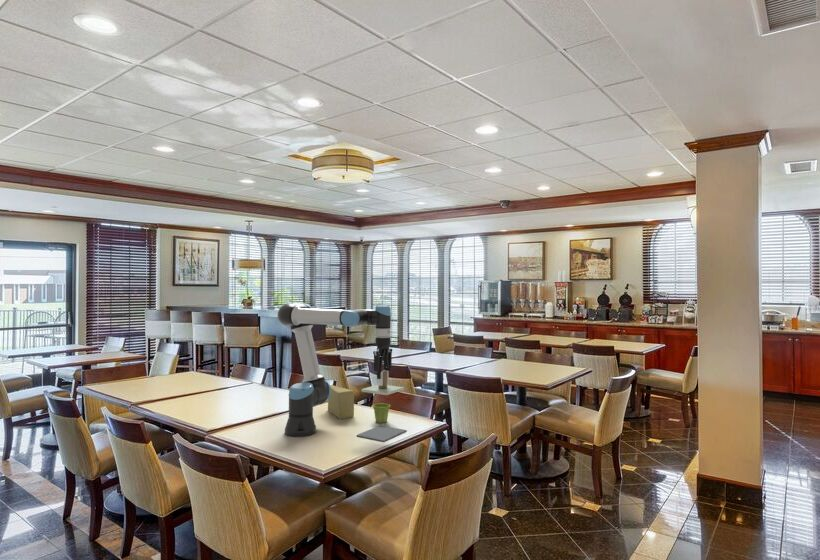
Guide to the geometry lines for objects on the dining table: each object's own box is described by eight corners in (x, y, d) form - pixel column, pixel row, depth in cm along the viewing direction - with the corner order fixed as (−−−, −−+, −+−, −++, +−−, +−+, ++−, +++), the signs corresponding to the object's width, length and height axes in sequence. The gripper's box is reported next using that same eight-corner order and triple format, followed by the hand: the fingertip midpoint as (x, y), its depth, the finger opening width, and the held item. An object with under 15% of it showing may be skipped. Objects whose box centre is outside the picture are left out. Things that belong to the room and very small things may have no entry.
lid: (386, 395, 222) (386, 375, 222) (361, 391, 230) (361, 372, 230) (403, 389, 235) (403, 371, 235) (379, 386, 243) (379, 368, 243)
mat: (383, 441, 219) (383, 440, 219) (356, 436, 228) (356, 435, 228) (406, 431, 236) (406, 430, 236) (380, 426, 245) (380, 425, 245)
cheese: (321, 411, 275) (321, 385, 276) (336, 408, 281) (336, 383, 281) (338, 419, 257) (339, 392, 258) (354, 417, 263) (354, 389, 263)
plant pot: (372, 419, 258) (372, 403, 259) (389, 419, 259) (390, 403, 259) (372, 424, 249) (372, 407, 249) (390, 423, 250) (390, 407, 250)
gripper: (379, 338, 224) (378, 388, 223) (399, 336, 239) (398, 382, 238) (366, 337, 228) (366, 386, 227) (386, 335, 243) (386, 381, 242)
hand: (382, 384), depth 233 cm, fingers closed on lid, 4 cm apart
